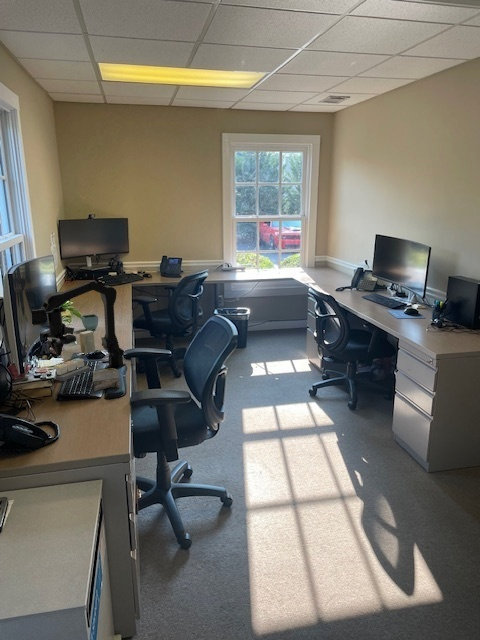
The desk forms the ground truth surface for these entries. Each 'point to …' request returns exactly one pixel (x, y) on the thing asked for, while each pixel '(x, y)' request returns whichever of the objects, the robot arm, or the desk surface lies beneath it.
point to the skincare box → (87, 342)
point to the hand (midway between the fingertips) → (59, 355)
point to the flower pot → (90, 321)
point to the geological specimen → (106, 379)
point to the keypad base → (72, 373)
